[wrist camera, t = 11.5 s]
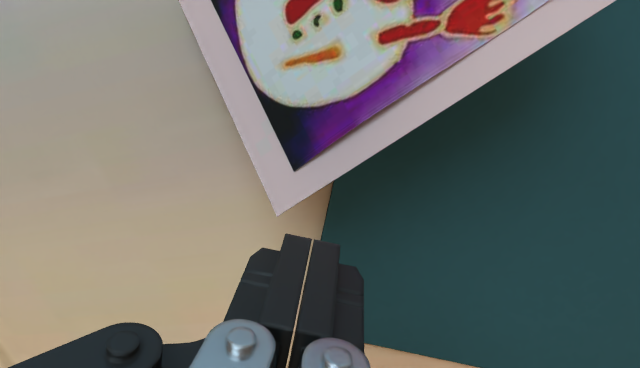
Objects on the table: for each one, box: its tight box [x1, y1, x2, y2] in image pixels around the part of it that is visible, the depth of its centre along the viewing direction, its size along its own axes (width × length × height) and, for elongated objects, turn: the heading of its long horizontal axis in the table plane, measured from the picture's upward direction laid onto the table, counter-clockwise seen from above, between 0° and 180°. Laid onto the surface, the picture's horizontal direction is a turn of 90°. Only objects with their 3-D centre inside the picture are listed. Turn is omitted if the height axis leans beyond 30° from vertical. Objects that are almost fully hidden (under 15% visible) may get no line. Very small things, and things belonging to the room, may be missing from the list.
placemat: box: [321, 0, 640, 368], centre depth 23 cm, size 20×24×1 cm
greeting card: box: [179, 0, 616, 216], centre depth 19 cm, size 11×7×15 cm
